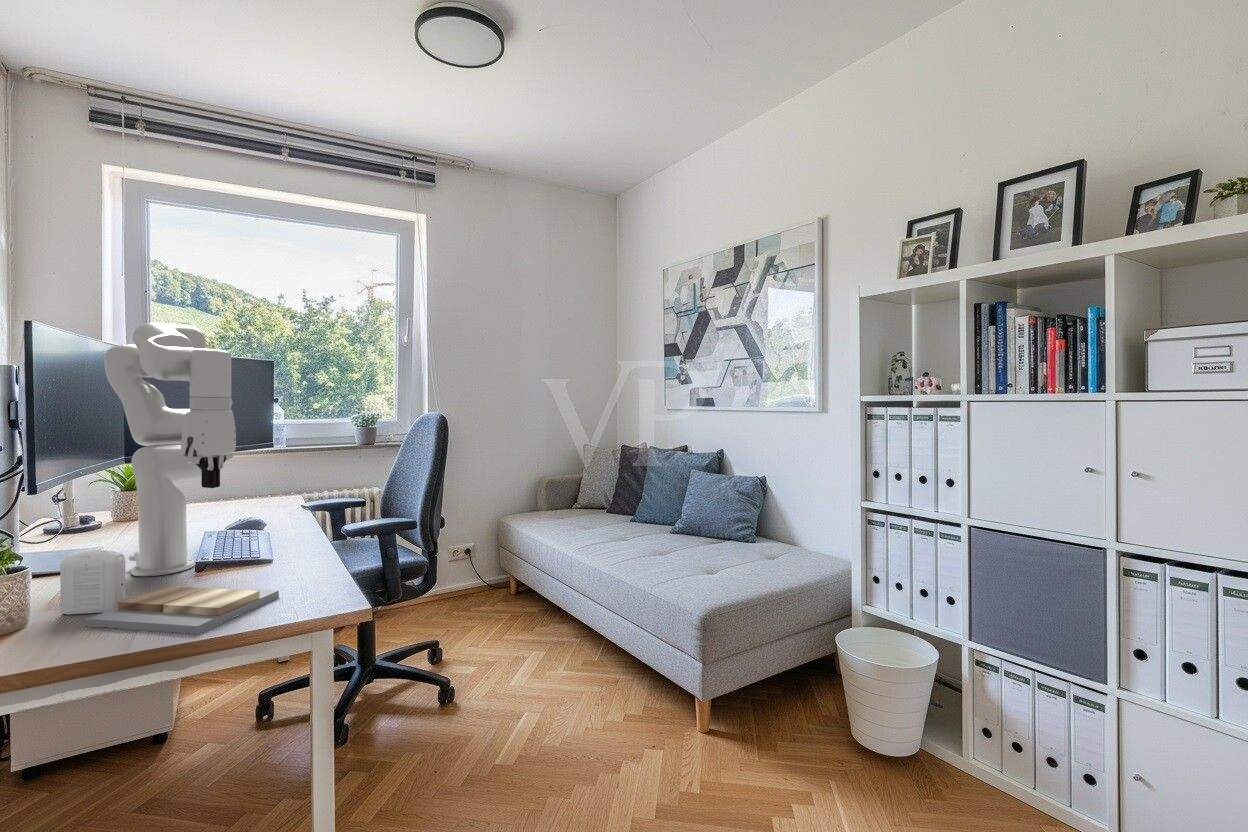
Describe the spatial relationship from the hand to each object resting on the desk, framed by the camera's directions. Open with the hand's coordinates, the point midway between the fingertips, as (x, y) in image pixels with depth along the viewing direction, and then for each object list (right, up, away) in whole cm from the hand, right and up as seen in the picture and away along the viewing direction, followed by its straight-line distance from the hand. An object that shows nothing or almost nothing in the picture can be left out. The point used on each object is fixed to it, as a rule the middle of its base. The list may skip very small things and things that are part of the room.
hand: (210, 487), depth 129 cm
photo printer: (-15, -24, -12) cm, 31 cm away
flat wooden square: (-2, -22, -11) cm, 25 cm away
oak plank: (+10, -22, -13) cm, 27 cm away
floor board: (+4, -24, -12) cm, 27 cm away
